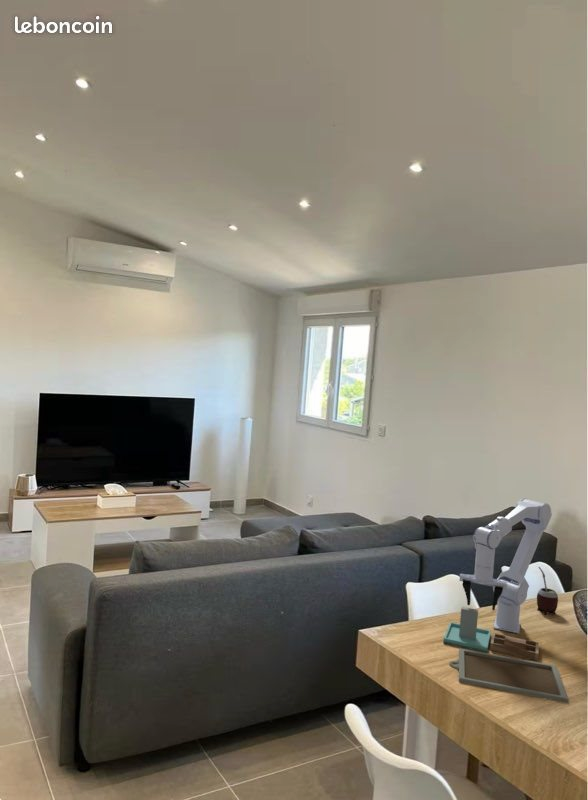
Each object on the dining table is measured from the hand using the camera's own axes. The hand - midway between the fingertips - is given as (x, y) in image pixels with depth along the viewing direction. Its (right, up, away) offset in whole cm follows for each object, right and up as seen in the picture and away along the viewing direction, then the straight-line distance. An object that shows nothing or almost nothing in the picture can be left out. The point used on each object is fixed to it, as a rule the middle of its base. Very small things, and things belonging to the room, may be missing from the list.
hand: (481, 606), depth 192 cm
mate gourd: (+31, -11, +25) cm, 41 cm away
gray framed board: (-1, -11, -25) cm, 27 cm away
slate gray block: (-5, -9, -3) cm, 11 cm away
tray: (-5, -9, -3) cm, 11 cm away
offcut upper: (+7, -9, -10) cm, 15 cm away
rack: (+7, -10, -9) cm, 16 cm away
